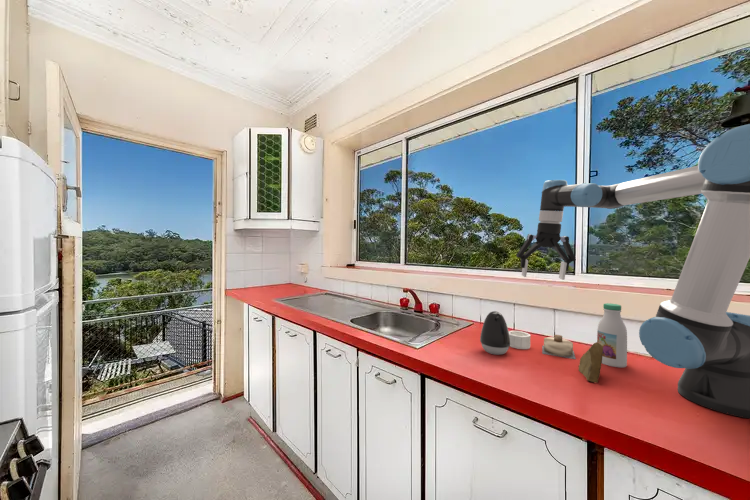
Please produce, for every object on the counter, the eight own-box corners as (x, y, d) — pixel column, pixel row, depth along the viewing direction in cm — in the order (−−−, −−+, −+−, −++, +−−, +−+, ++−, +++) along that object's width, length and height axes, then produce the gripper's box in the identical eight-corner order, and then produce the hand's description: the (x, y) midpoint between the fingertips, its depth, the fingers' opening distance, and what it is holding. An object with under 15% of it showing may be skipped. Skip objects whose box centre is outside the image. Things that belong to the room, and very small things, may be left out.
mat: (575, 360, 97) (575, 359, 97) (542, 354, 102) (542, 353, 102) (573, 351, 106) (573, 350, 106) (542, 346, 111) (542, 345, 111)
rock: (608, 380, 77) (621, 367, 83) (585, 351, 81) (599, 340, 87) (573, 390, 85) (587, 377, 91) (554, 362, 89) (568, 352, 94)
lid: (574, 358, 98) (574, 341, 98) (543, 353, 103) (544, 336, 102) (571, 350, 106) (572, 334, 106) (543, 346, 110) (543, 330, 110)
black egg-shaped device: (482, 356, 100) (482, 313, 100) (478, 346, 110) (478, 307, 110) (513, 359, 98) (513, 315, 98) (506, 348, 108) (507, 309, 108)
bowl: (529, 351, 105) (529, 338, 105) (506, 347, 109) (506, 334, 109) (530, 345, 112) (530, 332, 112) (508, 341, 116) (508, 329, 116)
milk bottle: (615, 359, 98) (616, 302, 98) (633, 369, 90) (634, 307, 90) (591, 358, 99) (592, 301, 99) (607, 368, 91) (608, 306, 91)
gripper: (580, 223, 108) (572, 277, 111) (511, 220, 112) (505, 272, 115) (592, 224, 101) (583, 282, 104) (518, 221, 104) (511, 277, 107)
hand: (542, 277), depth 109 cm, fingers open, 13 cm apart
